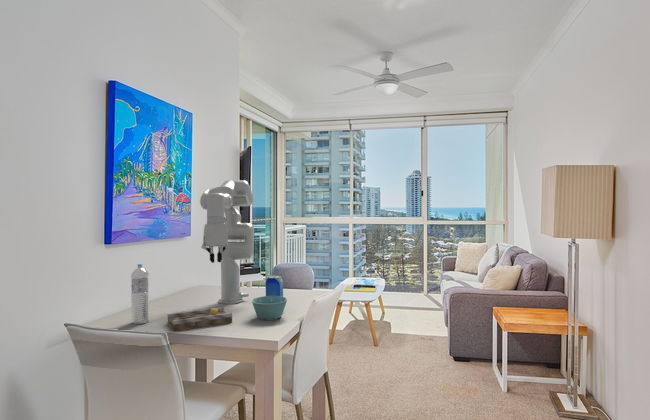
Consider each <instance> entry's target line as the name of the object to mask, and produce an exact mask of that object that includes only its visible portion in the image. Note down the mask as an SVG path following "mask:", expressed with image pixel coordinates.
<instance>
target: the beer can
mask: <svg viewBox="0 0 650 420" xmlns="http://www.w3.org/2000/svg"><path fill="white" fill-rule="evenodd" d="M265 296H281V297H284V280H283V278H282V276H281V275H268V276H267V278H266V279H265Z"/></svg>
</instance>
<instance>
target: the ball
mask: <svg viewBox="0 0 650 420" xmlns="http://www.w3.org/2000/svg"><path fill="white" fill-rule="evenodd" d="M216 308H217V307H212V308H210V309H211V310H210V313H211V315H216V314H217V313H218V310H217V309H216Z"/></svg>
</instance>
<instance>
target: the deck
mask: <svg viewBox="0 0 650 420" xmlns="http://www.w3.org/2000/svg"><path fill="white" fill-rule="evenodd" d="M215 308H216V309H217V310H218V313H217V314H216V315H211V313H210V310H211V309H212V308H207V309H198V310H188V311H182V312H173V313H167V325H168V326H169V327H170V328H171V330H172V331H173V332H175V331H176V330H177V331H182V329H184V330H189V328H191V329H196V328H195V327H198V328H203V326H205V327H210V326H211V325H212V326H217V325H224V324H225V325H226V324H230V323H233V312H228V313H227V312H226V311H225V309H224V307H223V306H221V307H215Z"/></svg>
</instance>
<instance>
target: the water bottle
mask: <svg viewBox="0 0 650 420" xmlns="http://www.w3.org/2000/svg"><path fill="white" fill-rule="evenodd" d="M130 277H131V278H130V279H131V293H130V294H131V297H130V298H131V302H130V303H131V304H130V305H131V306H130V309H131V311H130V312H131V317H130V318H131V319H130V320H131V324H133V325H144V324H148V322H149V318H150V317H149V316H150V313H149V311H150V310H149V307H150V306H149V304H150V303H149V299H150V298H149V295H150V294H149V277H150V275H149V273H148V271H147V270H146V269H145V268H143V264H141V263H140V264H137V268H135V270H133V271H132V272H131V275H130Z"/></svg>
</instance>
